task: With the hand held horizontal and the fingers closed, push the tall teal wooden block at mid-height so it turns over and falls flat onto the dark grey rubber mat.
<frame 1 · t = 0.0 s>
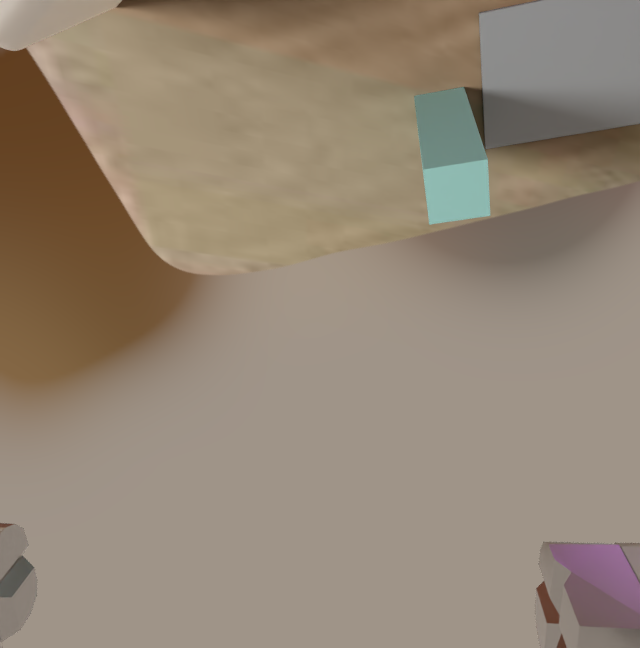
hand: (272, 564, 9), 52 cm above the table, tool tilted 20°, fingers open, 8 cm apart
teal block: (441, 115, 56), on the table
grey mat: (587, 65, 52), on the table
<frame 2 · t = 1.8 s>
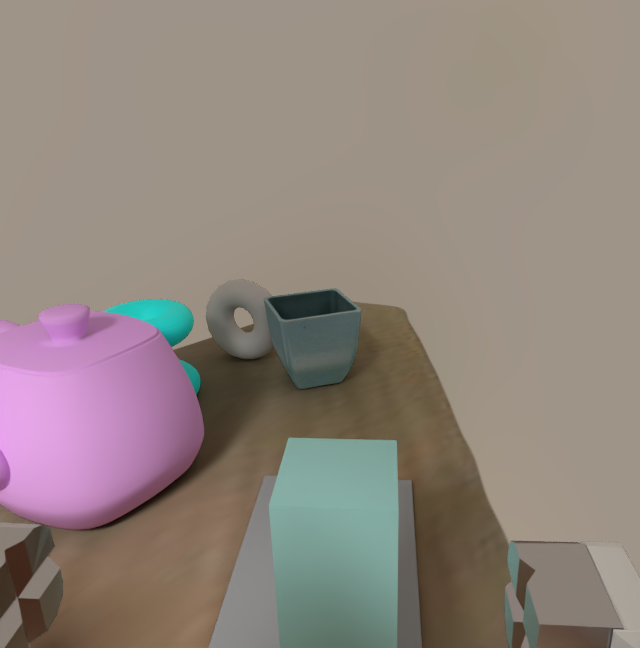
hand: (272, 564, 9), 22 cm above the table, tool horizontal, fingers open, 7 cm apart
flower pot: (313, 379, 68), on the table
donuts: (155, 400, 64), on the table
grey mat: (326, 560, 41), on the table
teapot: (90, 482, 51), on the table
donut: (247, 359, 74), on the table
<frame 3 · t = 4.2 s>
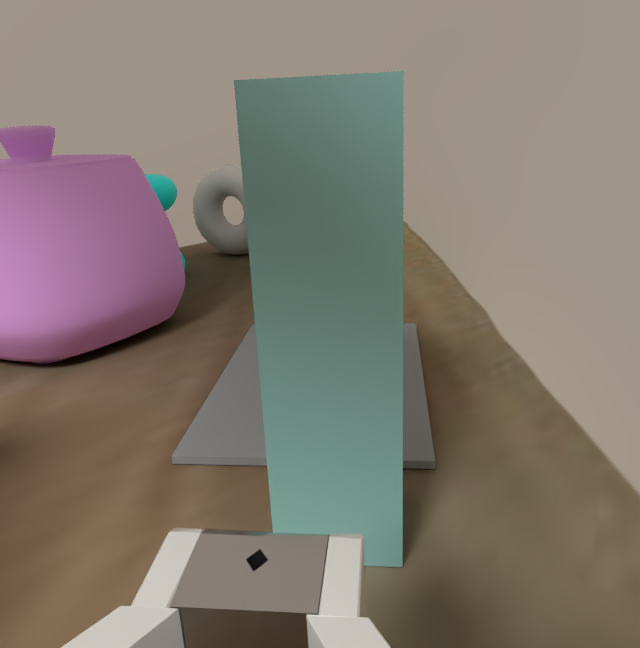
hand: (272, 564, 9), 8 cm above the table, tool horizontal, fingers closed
teal block: (342, 523, 23), on the table
donuts: (136, 283, 59), on the table
grey mat: (320, 381, 36), on the table
teapot: (59, 337, 46), on the table
donut: (237, 256, 69), on the table
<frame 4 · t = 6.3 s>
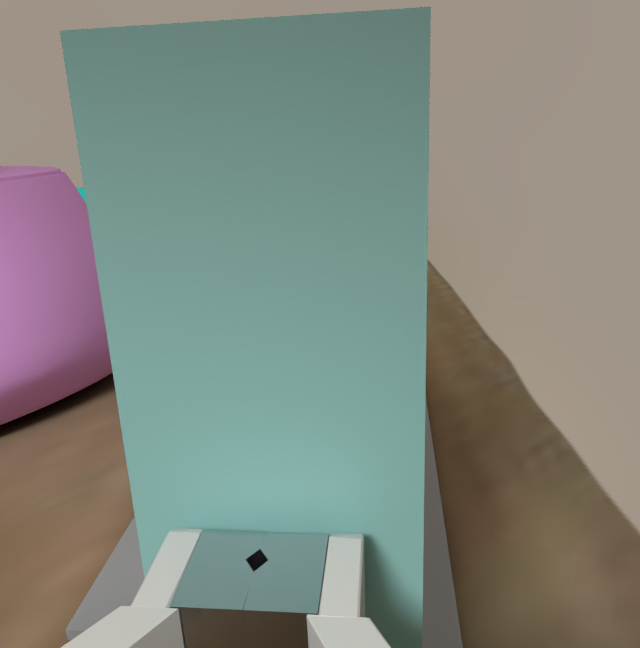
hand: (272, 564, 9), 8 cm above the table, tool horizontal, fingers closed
grey mat: (298, 476, 26), on the table
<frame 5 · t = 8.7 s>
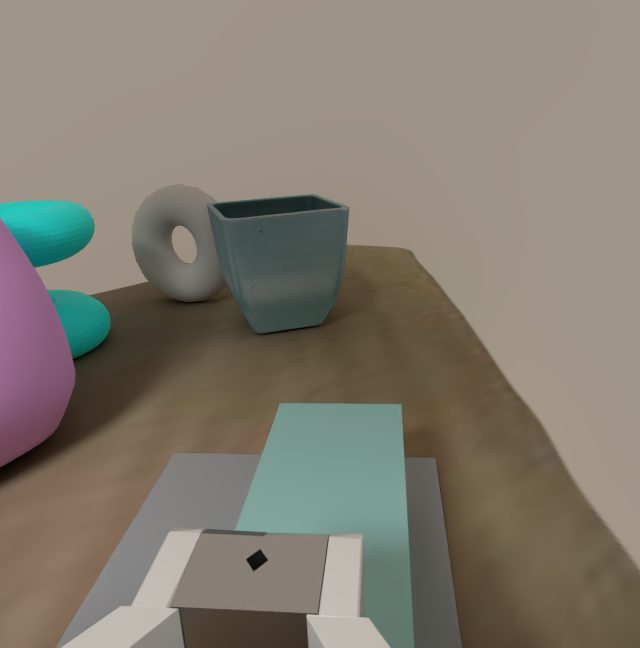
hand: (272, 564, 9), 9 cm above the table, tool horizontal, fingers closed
flower pot: (281, 323, 46), on the table
donuts: (41, 351, 43), on the table
grey mat: (265, 620, 19), on the table
donut: (191, 303, 52), on the table
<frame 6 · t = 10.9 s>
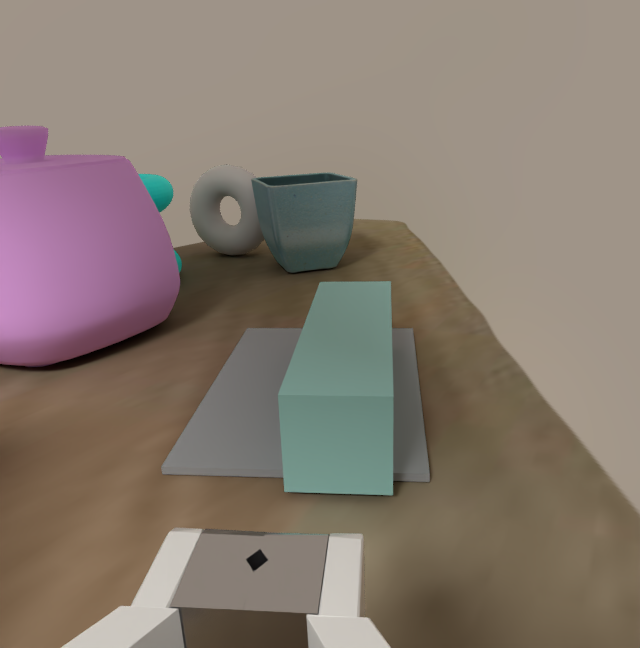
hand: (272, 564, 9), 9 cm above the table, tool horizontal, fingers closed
flower pot: (305, 268, 62), on the table
teal block: (336, 446, 24), point 3 cm above the table, tilted 90°, touching grey mat
donuts: (131, 284, 59), on the table
grey mat: (315, 388, 35), on the table
teapot: (52, 340, 45), on the table
donut: (234, 256, 68), on the table
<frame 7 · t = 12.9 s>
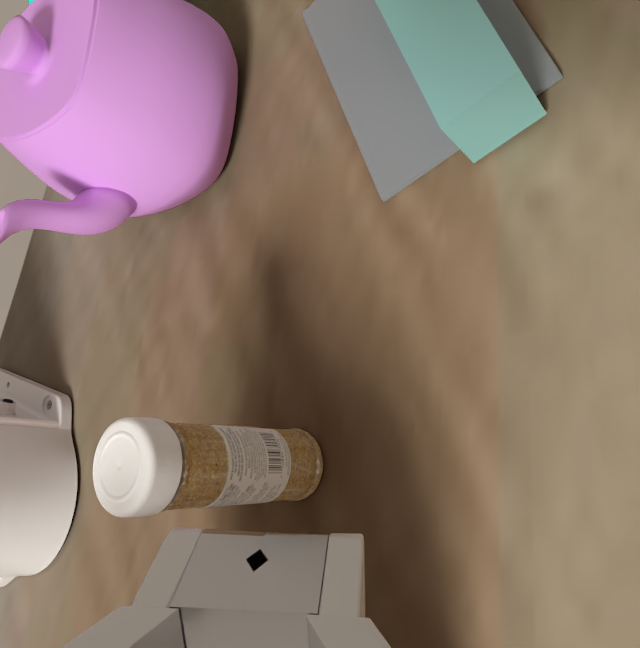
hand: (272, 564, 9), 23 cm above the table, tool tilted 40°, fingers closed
teal block: (495, 121, 31), point 3 cm above the table, tilted 90°, touching grey mat
grey mat: (412, 42, 39), on the table
teapot: (181, 144, 52), on the table
sprinkles bottle: (299, 464, 38), on the table
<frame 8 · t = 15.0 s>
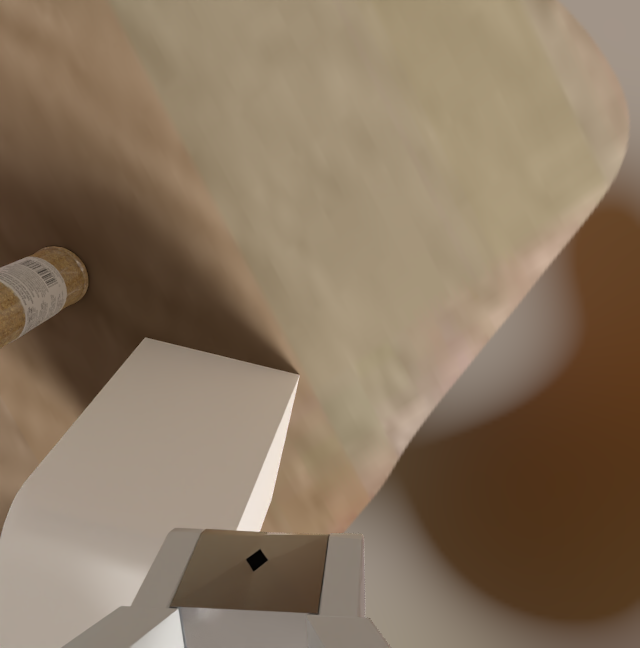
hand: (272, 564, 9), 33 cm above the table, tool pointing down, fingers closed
milk: (211, 420, 47), on the table
sprinkles bottle: (63, 274, 44), on the table
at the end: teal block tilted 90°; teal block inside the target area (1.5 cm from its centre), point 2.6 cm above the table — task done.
